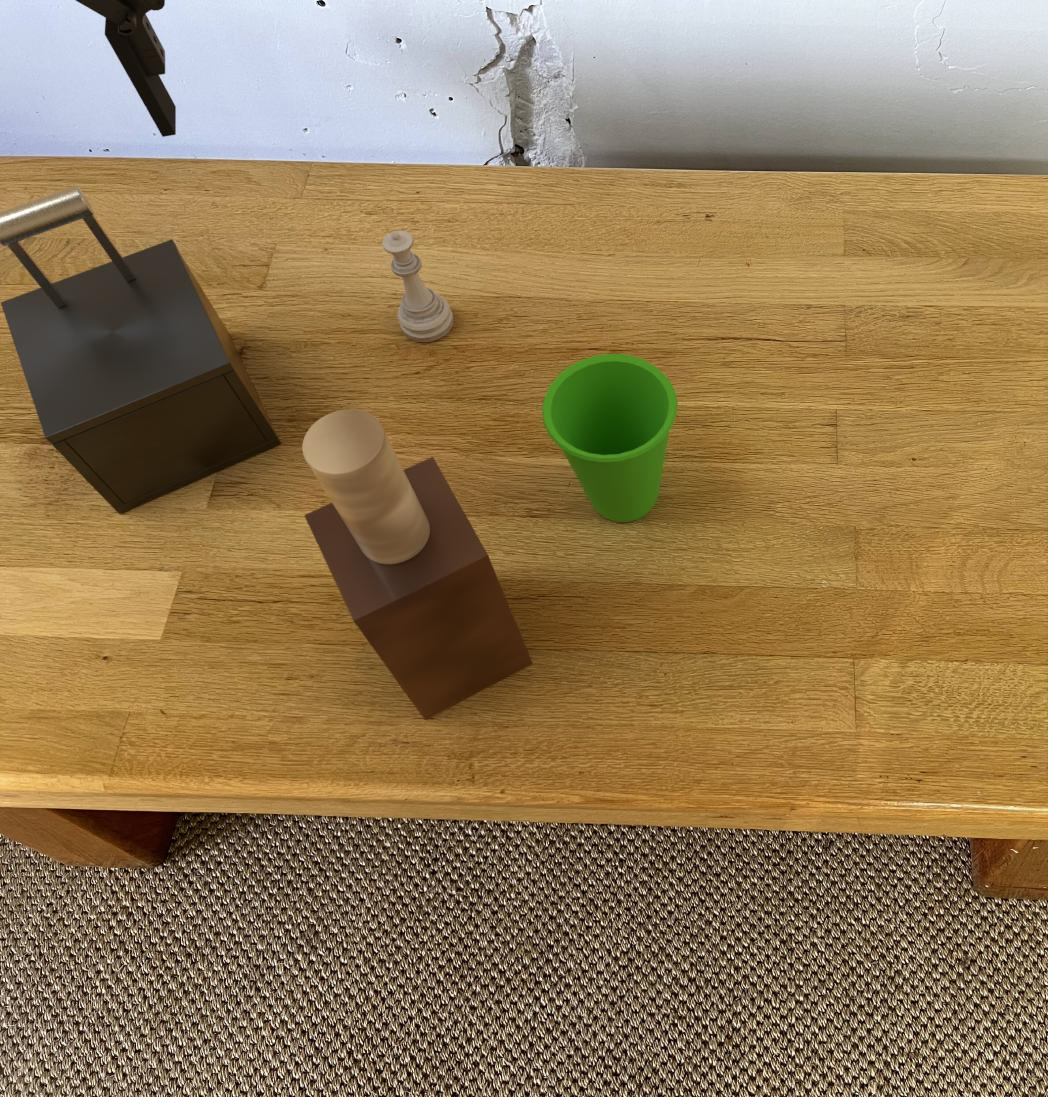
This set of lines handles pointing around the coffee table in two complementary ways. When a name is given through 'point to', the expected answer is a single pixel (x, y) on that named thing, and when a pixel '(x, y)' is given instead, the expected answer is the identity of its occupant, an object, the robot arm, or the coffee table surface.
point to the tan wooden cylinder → (367, 485)
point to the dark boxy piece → (175, 435)
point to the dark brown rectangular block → (428, 601)
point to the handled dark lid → (105, 325)
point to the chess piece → (416, 293)
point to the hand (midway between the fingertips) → (51, 142)
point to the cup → (613, 430)
